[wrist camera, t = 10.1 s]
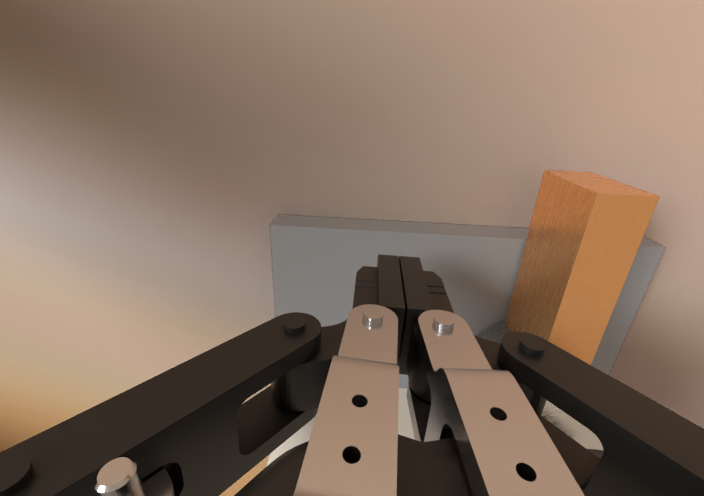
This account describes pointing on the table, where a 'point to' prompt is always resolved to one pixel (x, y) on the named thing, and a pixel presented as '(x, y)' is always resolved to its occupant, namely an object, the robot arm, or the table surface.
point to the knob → (575, 270)
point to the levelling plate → (435, 255)
